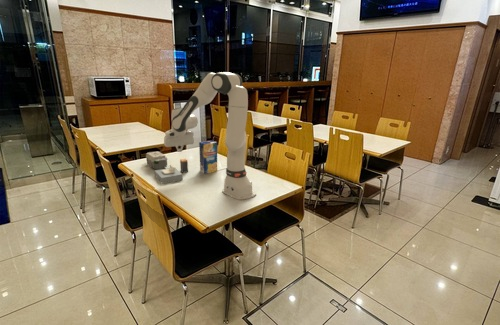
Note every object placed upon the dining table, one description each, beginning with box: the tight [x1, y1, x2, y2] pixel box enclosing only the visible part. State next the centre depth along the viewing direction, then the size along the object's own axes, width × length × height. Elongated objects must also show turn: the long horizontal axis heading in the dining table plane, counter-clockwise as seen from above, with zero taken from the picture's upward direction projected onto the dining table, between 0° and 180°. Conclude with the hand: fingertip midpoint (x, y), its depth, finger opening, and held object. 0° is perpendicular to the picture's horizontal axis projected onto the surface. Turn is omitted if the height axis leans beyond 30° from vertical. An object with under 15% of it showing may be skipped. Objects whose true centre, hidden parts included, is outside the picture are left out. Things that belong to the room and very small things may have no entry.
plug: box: [179, 158, 189, 173], centre depth 204 cm, size 4×4×9 cm
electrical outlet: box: [145, 151, 168, 170], centre depth 213 cm, size 12×28×10 cm, turn 35°
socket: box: [154, 167, 184, 184], centre depth 192 cm, size 16×14×4 cm
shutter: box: [161, 164, 176, 174], centre depth 191 cm, size 7×7×4 cm
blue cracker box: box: [198, 140, 218, 175], centre depth 205 cm, size 7×11×22 cm, turn 127°
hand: (179, 151), depth 192 cm, fingers closed
